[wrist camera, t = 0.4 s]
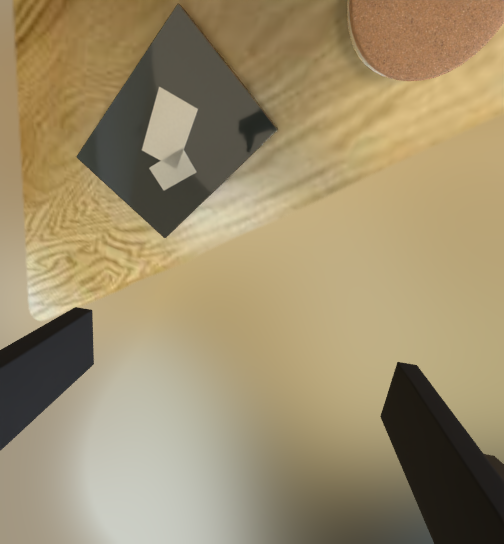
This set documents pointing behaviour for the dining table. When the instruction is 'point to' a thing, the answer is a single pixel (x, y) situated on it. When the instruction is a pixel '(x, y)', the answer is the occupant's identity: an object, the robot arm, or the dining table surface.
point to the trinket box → (420, 34)
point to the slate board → (175, 127)
